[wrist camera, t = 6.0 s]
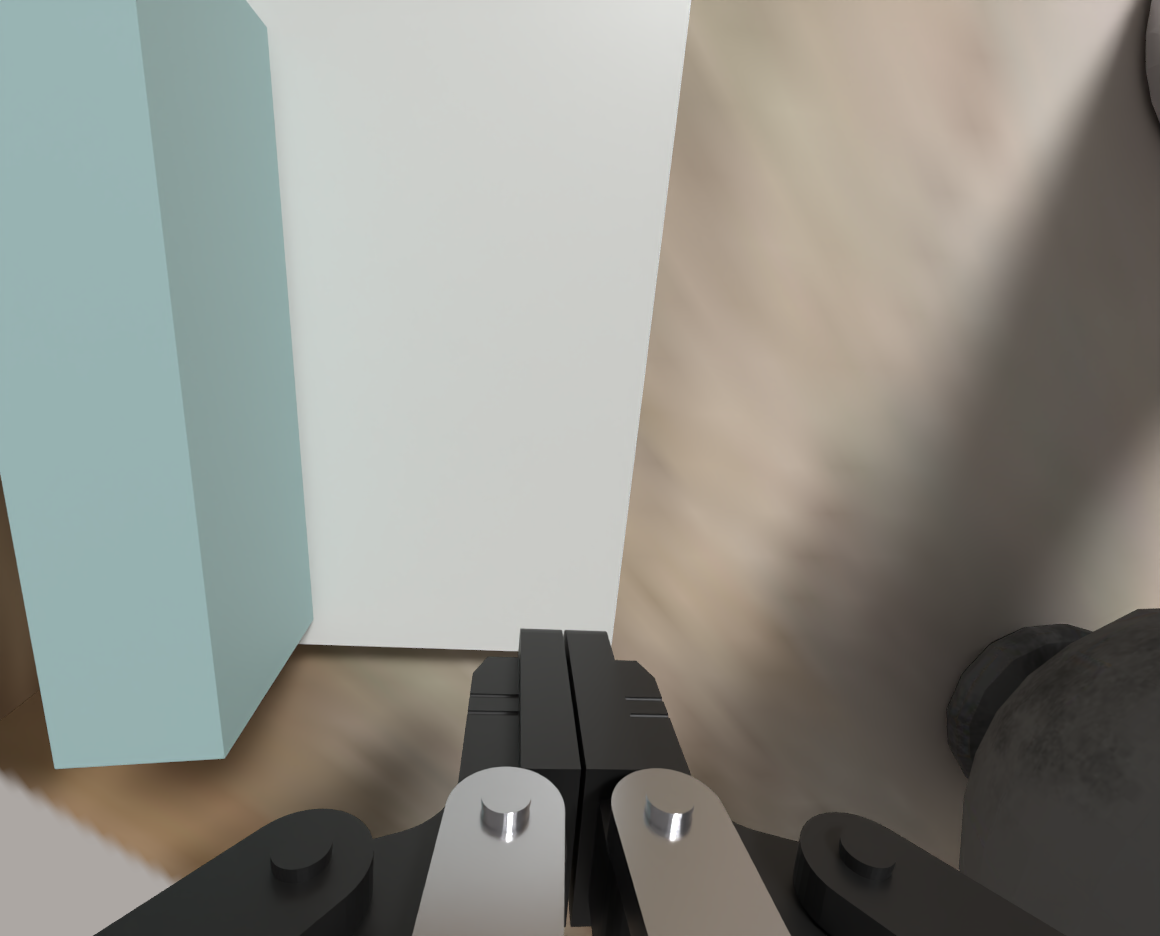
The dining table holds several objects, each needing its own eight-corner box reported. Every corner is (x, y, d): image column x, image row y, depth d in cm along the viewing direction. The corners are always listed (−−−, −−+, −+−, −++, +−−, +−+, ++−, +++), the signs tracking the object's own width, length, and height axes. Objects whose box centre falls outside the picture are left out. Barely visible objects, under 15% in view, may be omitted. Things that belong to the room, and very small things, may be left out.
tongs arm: (58, -103, 14) (-355, -506, 7) (262, -84, 15) (55, -443, 8) (156, 620, 18) (-55, 801, 11) (316, 614, 18) (208, 783, 12)
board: (687, -53, 17) (701, -81, 16) (603, 636, 21) (610, 654, 20) (-29, -196, 14) (-76, -242, 13) (34, 615, 18) (3, 633, 17)
